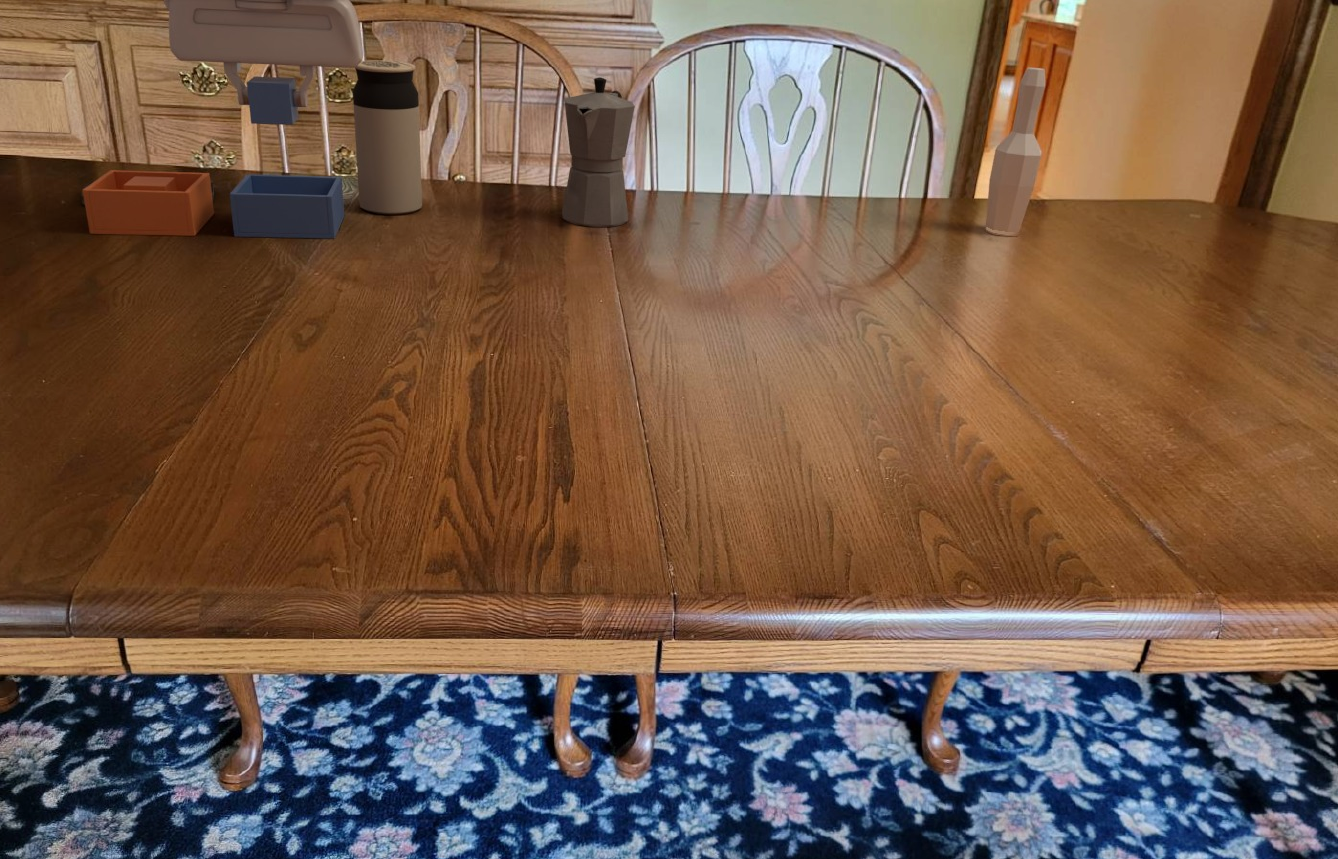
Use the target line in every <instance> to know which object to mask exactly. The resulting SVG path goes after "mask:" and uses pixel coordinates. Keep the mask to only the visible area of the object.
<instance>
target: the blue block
mask: <svg viewBox="0 0 1338 859" xmlns="http://www.w3.org/2000/svg"><path fill="white" fill-rule="evenodd" d="M246 87H247V89H248V99H249V105H248V107H249V116H250V124H251V125H252V124H253V125H254V124H255V125H256V124H257V125H284V126H285V125H286V126H293V125H294V124H295V123H296V122H297V121H298V119H299V118H300V117H299V107H294V106H293V98H292V91H293V90H294V89H297V84H296V78H295V77H283V76H282V77H281V76H280V77H279V76H258V75H257V76H256V75H255V76H253V77H252V78H250V79H249V80H248V81H246Z"/></svg>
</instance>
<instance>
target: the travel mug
mask: <svg viewBox="0 0 1338 859" xmlns="http://www.w3.org/2000/svg"><path fill="white" fill-rule="evenodd" d="M354 69H355V72H356V78H357V80H356V82H355V85H354V87H353V89H352V100H353V101H352V102H353V105H352V106H353V117H354V118H353V121H354V138H355V151H356V152H355V154H356V169H357V186H358V203H359V205H358V206H359V207H360V208H362V209H363V210H365V211H367V212H369V213H372V214H378V215H389V216H390V215H392V216H393V215H395V216H396V215H404V214H405V215H406V214H411V213H413V212H416V211H418V210H420V209H421V208H422V207H423V189H422V187H423V186H422V159H421V156H422V155H421V135H420V134H421V131H420V130H421V128H420V102H419V101H420V100H419V98H420V97H419V91H418V90H417V88H416V86H415V83H414V82H413V78H414V71H415V70H416V65H414V64H413V63H409V62H405V61H395V60H381V59H379V60H377V59H374V60H372V59H371V60H369V59H368V60H362V61H361V62H360V63H359V64H358V65H357V66H356V67H355V68H354Z"/></svg>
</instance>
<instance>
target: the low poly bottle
mask: <svg viewBox="0 0 1338 859" xmlns="http://www.w3.org/2000/svg"><path fill="white" fill-rule="evenodd" d="M1045 88H1046V71H1045V68H1040V67H1029V66H1028V67H1027V68H1026V70H1025V72H1024V74H1023V76H1022V78H1021V79H1020V81H1019V86H1018V95H1017V104H1016V110H1015V114H1014V121H1013V125H1012V130H1011V132H1009V133H1008V135H1006V136H1005V137H1004V139H1002V141H1001V142H1000V143H999V144H998V145H997V146H996V147H995V150H994V151H995V152H994V156H993V161H992V166H991V170H990V176H989V182H988V194H987V195H988V196H987V206H986V220H985V228H986V227H988V228H990V229H992V230H998V231H1005V232H1019V233H1020V230H1021V227H1022V224H1023V220H1024V218H1025V215H1026V212H1027V210H1028V206H1029V203H1030V201H1031V197H1032V194H1033V191H1034V188H1035V185H1036V183H1037V177H1038V173H1039V169H1040V164H1041V158H1042V154H1043V151H1042V150H1041V147H1040V145H1039V142H1038V140H1037V138H1036V136H1035V133H1034V132H1035V127H1036V122H1037V118H1038V114H1039V108H1040V106H1041V101H1042V100H1043V99H1042V98H1043V95H1044V92H1045ZM985 232H987V233H989V234H991V235H995V236H1002V237H1019V234H1018V235H1002V234H995V233H992V232H990V231H988V230H986V229H985Z"/></svg>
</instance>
